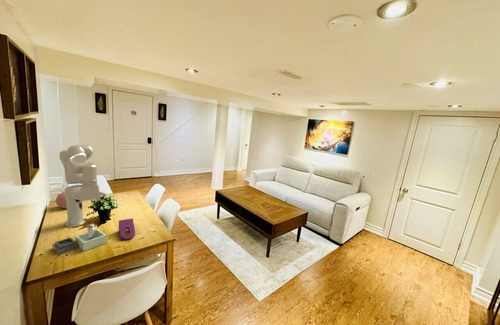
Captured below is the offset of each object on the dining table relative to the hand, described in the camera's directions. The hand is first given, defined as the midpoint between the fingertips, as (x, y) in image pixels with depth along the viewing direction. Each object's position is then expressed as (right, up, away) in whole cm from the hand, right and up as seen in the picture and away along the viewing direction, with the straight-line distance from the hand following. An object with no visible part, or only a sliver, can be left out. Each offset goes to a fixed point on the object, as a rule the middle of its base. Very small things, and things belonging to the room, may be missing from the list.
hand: (90, 207), depth 137 cm
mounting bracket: (+14, -25, +19) cm, 34 cm away
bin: (-2, -26, +3) cm, 26 cm away
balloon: (-64, -13, +57) cm, 87 cm away
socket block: (-13, -26, -4) cm, 29 cm away
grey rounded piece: (-2, -25, +3) cm, 26 cm away
